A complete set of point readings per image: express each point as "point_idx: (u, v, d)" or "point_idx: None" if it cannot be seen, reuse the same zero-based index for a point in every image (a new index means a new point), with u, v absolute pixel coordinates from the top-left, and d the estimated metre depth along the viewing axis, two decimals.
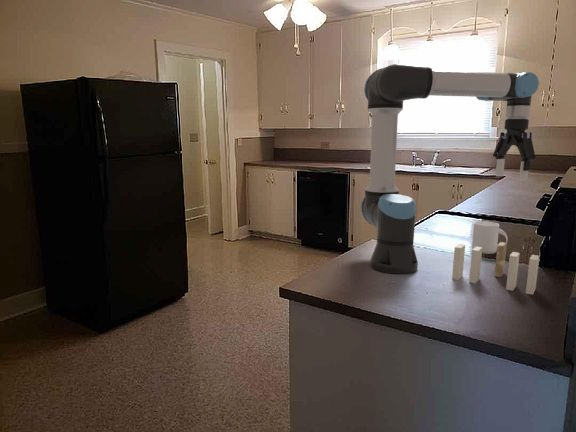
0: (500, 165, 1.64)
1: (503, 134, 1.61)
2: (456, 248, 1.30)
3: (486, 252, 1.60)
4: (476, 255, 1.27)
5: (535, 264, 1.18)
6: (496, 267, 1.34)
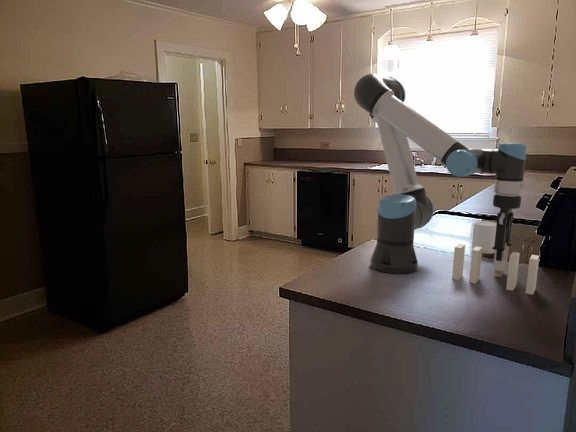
0: None
1: None
2: (456, 248, 1.30)
3: (486, 252, 1.60)
4: (476, 255, 1.27)
5: (535, 264, 1.18)
6: None
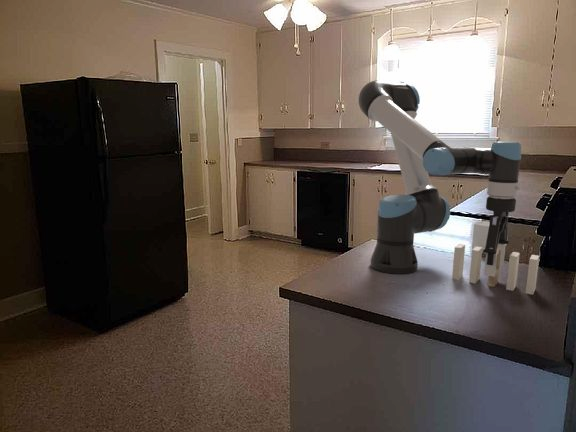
0: None
1: None
2: (456, 248, 1.30)
3: None
4: (476, 255, 1.27)
5: (535, 264, 1.18)
6: (489, 276, 1.26)
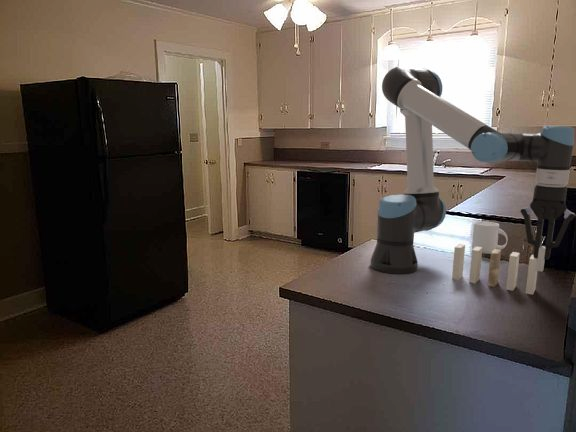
0: None
1: None
2: (456, 248, 1.30)
3: (486, 252, 1.60)
4: (476, 255, 1.27)
5: (535, 264, 1.18)
6: (489, 276, 1.26)
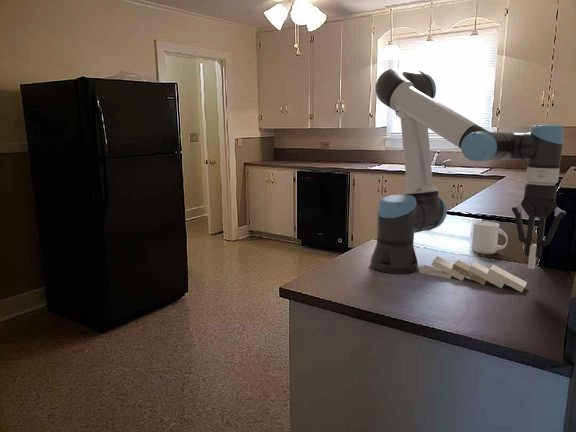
0: None
1: None
2: (419, 272, 1.38)
3: (486, 252, 1.60)
4: (437, 263, 1.34)
5: (494, 271, 1.25)
6: (474, 279, 1.28)
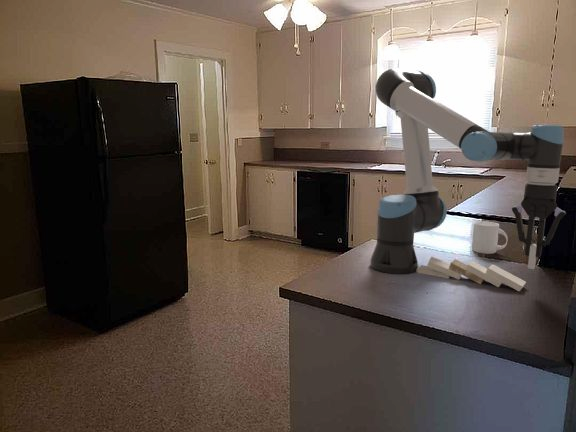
0: None
1: None
2: (417, 272, 1.38)
3: (486, 252, 1.60)
4: (433, 264, 1.34)
5: (492, 271, 1.26)
6: (471, 278, 1.29)
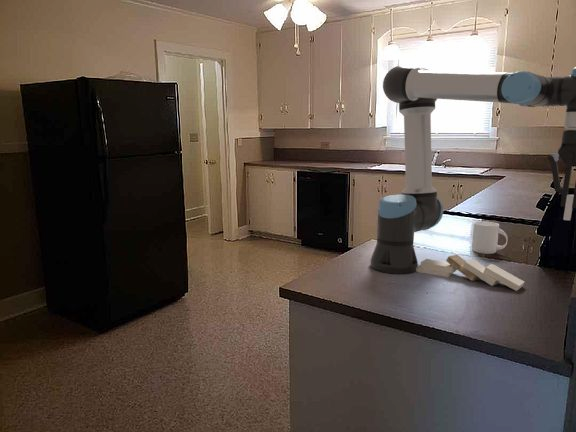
0: None
1: None
2: (417, 271, 1.39)
3: (486, 252, 1.60)
4: (425, 264, 1.38)
5: (489, 270, 1.27)
6: (464, 274, 1.31)
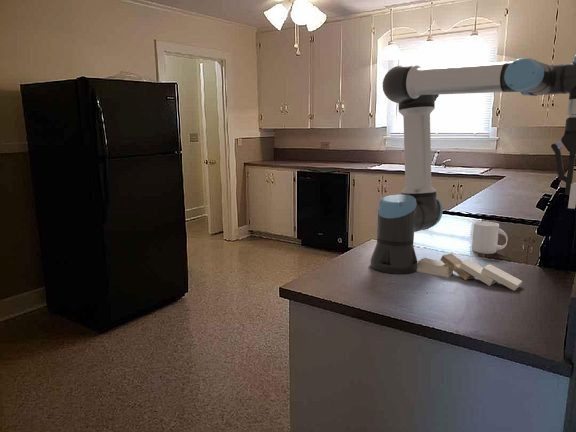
0: None
1: None
2: None
3: (486, 252, 1.60)
4: (422, 263, 1.40)
5: (487, 270, 1.27)
6: (458, 273, 1.32)
